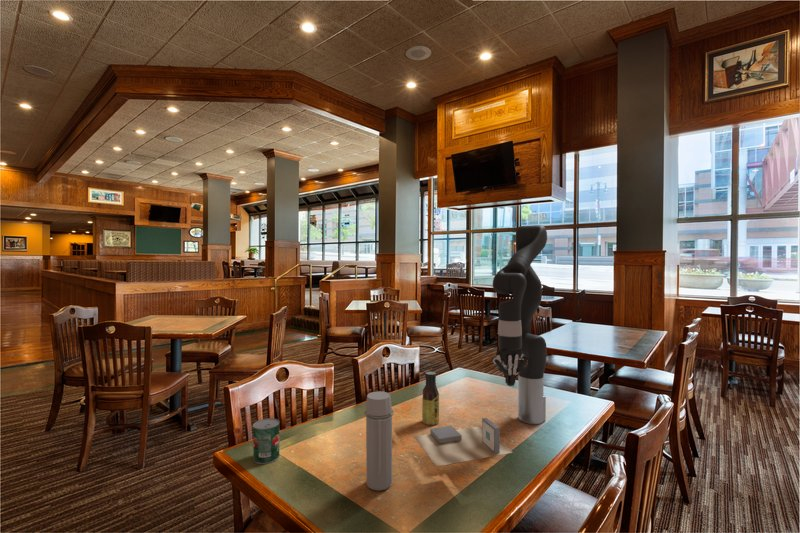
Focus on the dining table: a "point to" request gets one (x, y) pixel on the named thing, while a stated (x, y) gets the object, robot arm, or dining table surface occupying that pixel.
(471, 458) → the white flat sheet
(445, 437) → the slate tile
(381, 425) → the water bottle
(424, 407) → the sauce bottle
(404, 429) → the dining table surface
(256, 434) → the canned tomato
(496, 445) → the slate tile
